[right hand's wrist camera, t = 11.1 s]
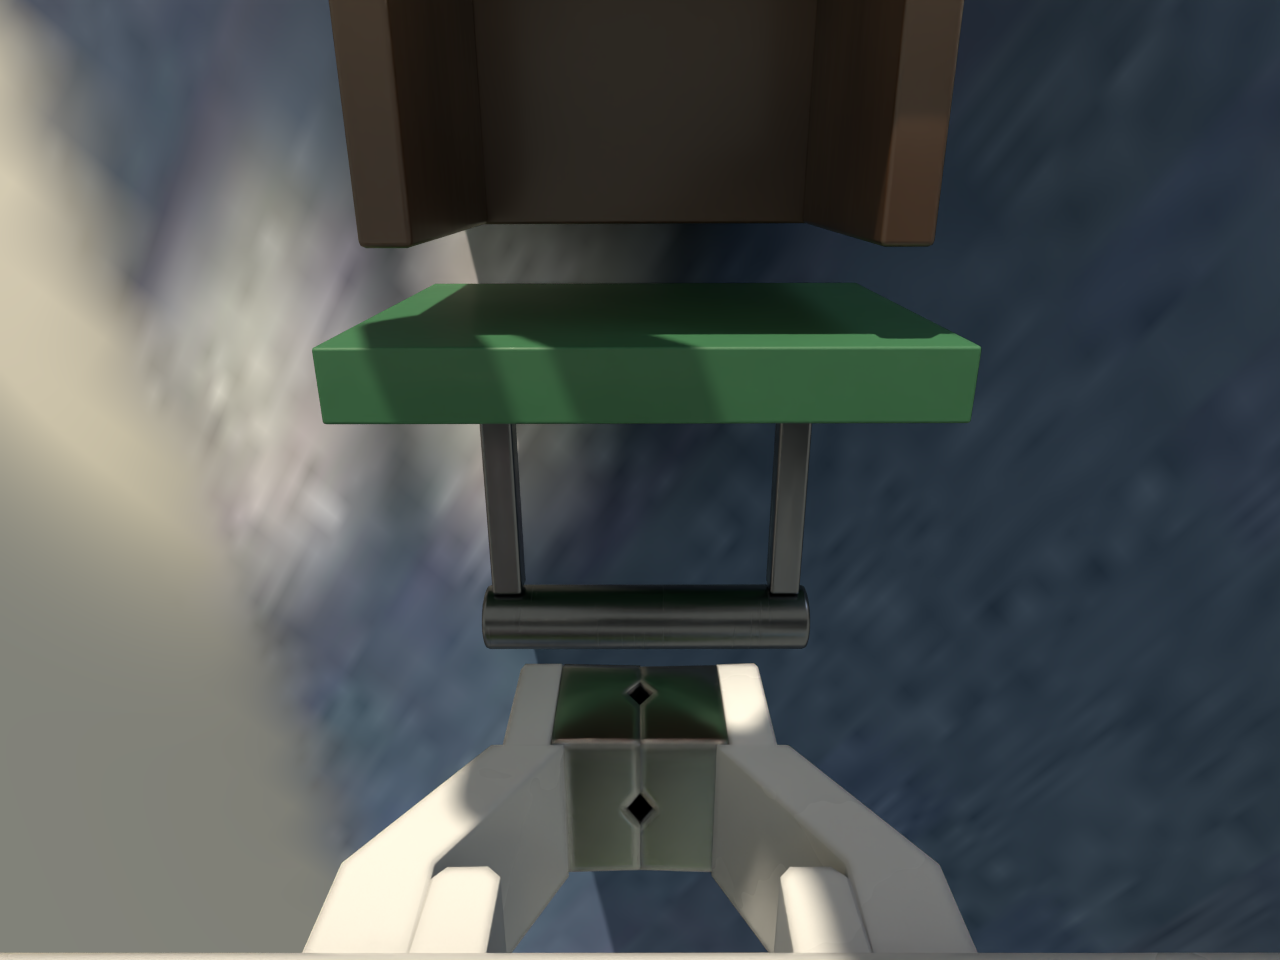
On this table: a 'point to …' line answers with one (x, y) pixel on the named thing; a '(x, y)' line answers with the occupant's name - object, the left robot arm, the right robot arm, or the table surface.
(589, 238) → the table surface
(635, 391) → the drawer
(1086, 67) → the table surface
